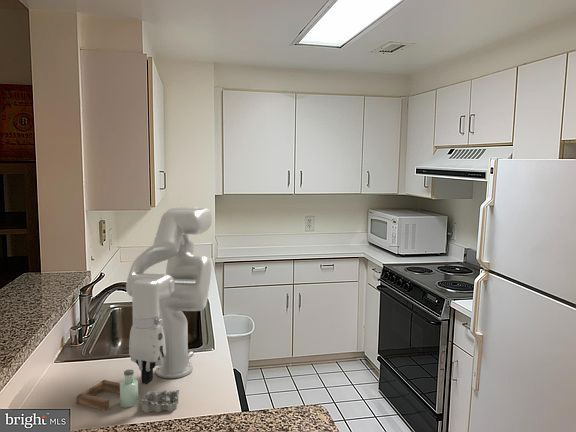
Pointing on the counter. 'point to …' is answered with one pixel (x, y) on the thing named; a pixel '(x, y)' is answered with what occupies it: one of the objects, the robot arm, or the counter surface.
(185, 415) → the counter surface
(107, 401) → the rest
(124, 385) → the bottle
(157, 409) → the egg carton
